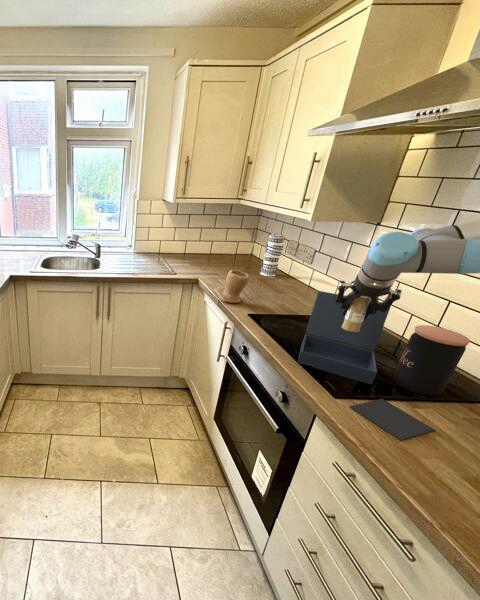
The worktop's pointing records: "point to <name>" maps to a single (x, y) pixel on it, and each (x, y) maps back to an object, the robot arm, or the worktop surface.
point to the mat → (392, 419)
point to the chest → (338, 358)
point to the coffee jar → (429, 359)
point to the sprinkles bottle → (356, 314)
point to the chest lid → (330, 322)
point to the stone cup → (233, 286)
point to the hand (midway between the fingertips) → (354, 313)
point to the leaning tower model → (272, 255)
